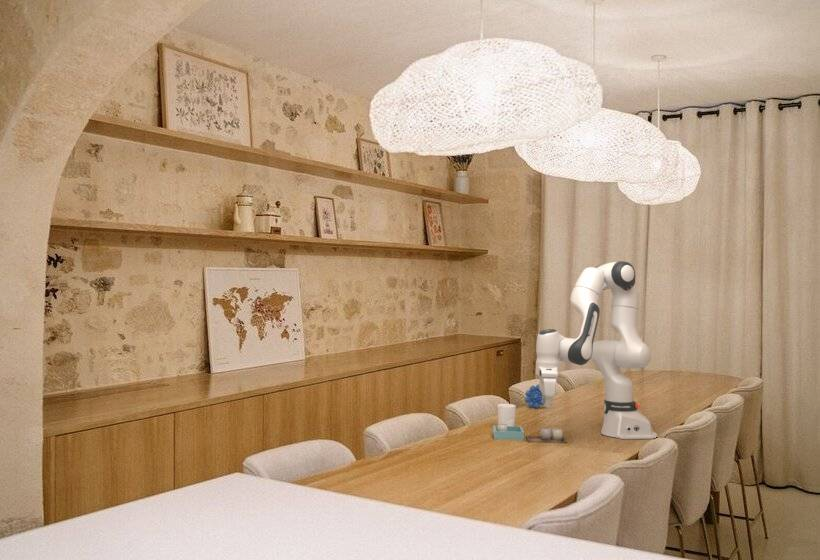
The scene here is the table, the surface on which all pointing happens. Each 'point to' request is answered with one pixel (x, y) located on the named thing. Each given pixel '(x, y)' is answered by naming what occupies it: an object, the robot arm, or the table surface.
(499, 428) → the pebble
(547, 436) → the pebble
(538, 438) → the tray
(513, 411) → the white cup
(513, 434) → the teal square bin
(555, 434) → the pebble
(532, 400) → the grapes
